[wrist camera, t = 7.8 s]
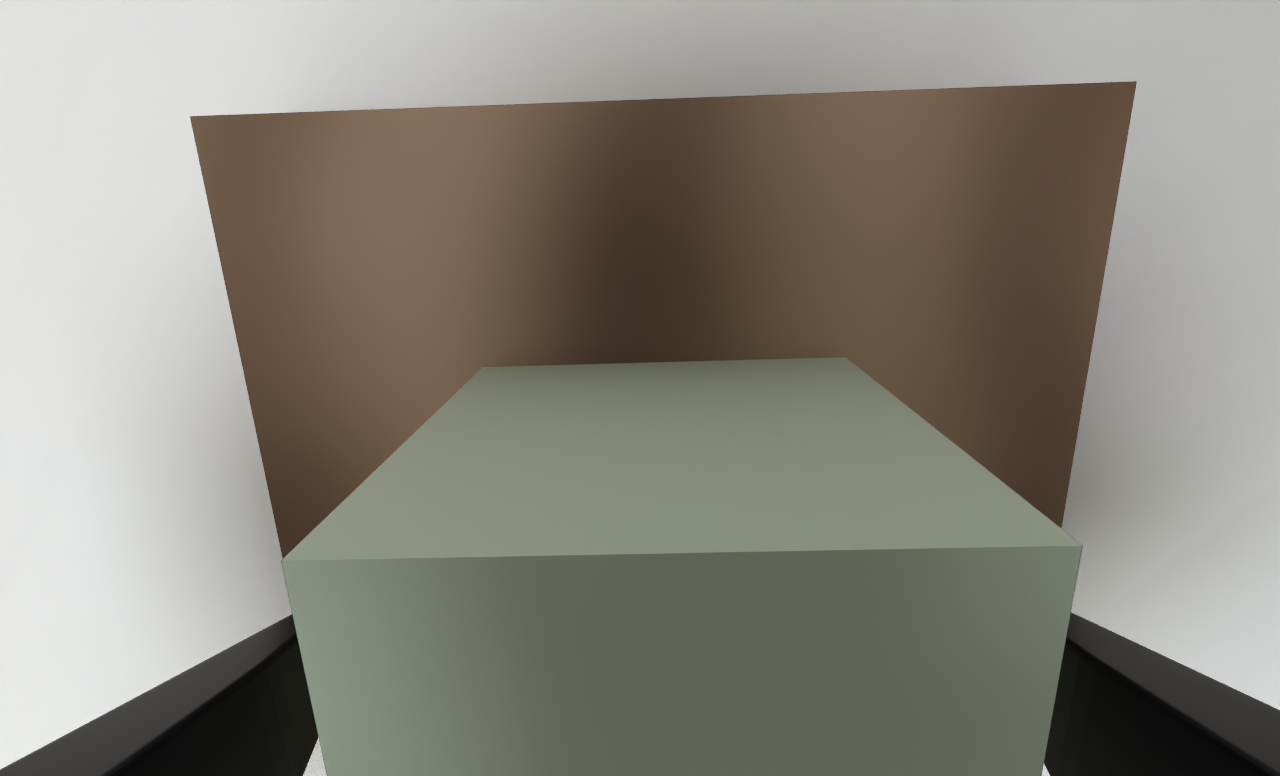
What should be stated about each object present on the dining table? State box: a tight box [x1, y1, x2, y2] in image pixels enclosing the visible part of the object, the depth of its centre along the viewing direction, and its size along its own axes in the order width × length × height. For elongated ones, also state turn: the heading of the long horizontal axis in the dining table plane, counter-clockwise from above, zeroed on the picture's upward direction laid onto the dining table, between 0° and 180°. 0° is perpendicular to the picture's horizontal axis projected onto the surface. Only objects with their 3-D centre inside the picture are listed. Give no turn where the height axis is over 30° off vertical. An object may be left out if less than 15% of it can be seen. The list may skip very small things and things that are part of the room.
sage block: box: [281, 357, 1082, 776], centre depth 8 cm, size 6×6×6 cm
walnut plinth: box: [190, 82, 1136, 558], centre depth 13 cm, size 14×14×2 cm
